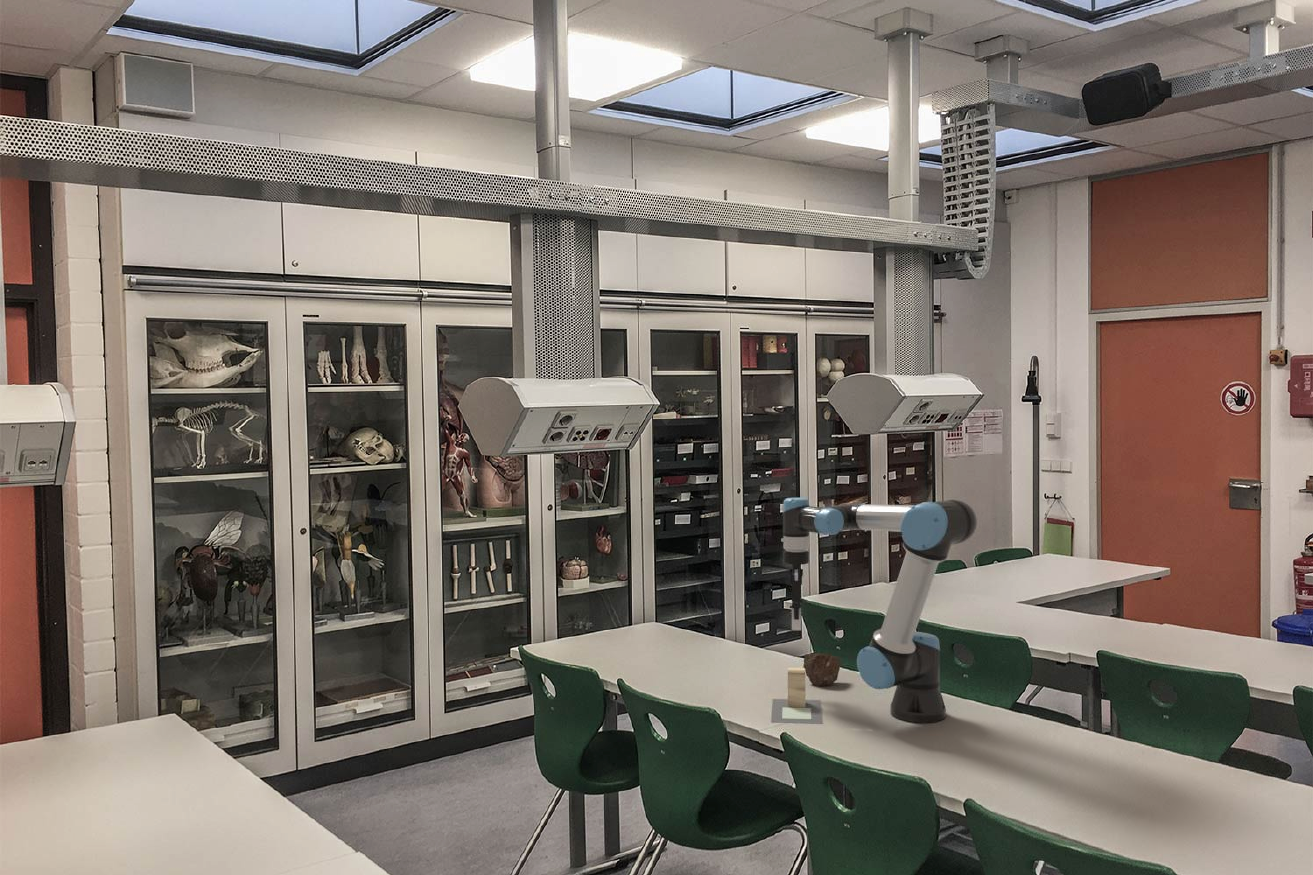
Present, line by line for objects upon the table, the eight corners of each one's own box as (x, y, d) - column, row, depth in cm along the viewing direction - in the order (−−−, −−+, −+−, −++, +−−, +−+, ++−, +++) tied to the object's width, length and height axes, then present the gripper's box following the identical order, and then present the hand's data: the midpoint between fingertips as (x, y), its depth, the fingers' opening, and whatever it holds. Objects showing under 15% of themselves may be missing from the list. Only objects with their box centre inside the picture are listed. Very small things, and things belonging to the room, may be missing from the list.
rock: (835, 663, 328) (850, 651, 320) (837, 694, 323) (851, 683, 315) (799, 656, 326) (813, 644, 318) (800, 687, 320) (814, 676, 312)
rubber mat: (772, 700, 306) (772, 698, 305) (820, 701, 304) (820, 699, 304) (771, 723, 284) (771, 721, 284) (822, 725, 282) (822, 723, 282)
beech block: (787, 701, 303) (787, 667, 302) (805, 702, 302) (805, 668, 301) (787, 706, 298) (787, 672, 297) (805, 707, 297) (805, 672, 296)
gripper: (783, 545, 317) (783, 619, 318) (783, 554, 298) (783, 634, 299) (808, 545, 316) (808, 620, 317) (809, 555, 297) (809, 634, 298)
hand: (796, 627), depth 308 cm, fingers open, 6 cm apart
